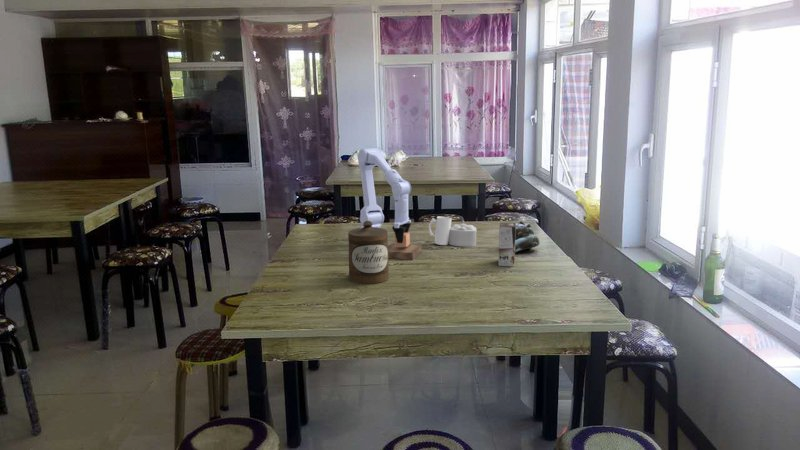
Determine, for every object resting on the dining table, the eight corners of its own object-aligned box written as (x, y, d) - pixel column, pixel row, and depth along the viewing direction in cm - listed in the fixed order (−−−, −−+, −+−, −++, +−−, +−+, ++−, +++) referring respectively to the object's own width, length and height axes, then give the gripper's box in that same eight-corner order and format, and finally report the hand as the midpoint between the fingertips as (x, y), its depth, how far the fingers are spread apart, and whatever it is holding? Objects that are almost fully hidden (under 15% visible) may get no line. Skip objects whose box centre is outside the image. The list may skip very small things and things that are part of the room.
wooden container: (353, 285, 232) (352, 226, 227) (345, 274, 246) (344, 218, 241) (393, 282, 236) (392, 223, 231) (383, 271, 250) (382, 216, 245)
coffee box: (514, 266, 255) (515, 227, 252) (498, 266, 256) (499, 226, 253) (515, 260, 264) (516, 222, 261) (499, 260, 265) (500, 221, 262)
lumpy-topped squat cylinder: (475, 246, 288) (476, 228, 286) (446, 245, 289) (447, 227, 287) (475, 241, 298) (476, 223, 296) (447, 240, 299) (448, 222, 297)
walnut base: (381, 257, 271) (380, 250, 270) (391, 249, 284) (391, 243, 283) (412, 260, 266) (412, 253, 266) (422, 252, 279) (422, 245, 279)
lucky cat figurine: (507, 254, 274) (498, 224, 277) (507, 258, 285) (498, 229, 289) (541, 244, 272) (532, 214, 275) (540, 249, 284) (530, 219, 287)
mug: (449, 243, 295) (453, 218, 293) (446, 246, 288) (450, 220, 286) (428, 240, 297) (431, 214, 295) (425, 242, 291) (428, 216, 289)
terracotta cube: (395, 246, 272) (394, 234, 271) (398, 243, 277) (398, 232, 276) (406, 246, 271) (406, 235, 270) (409, 244, 276) (409, 232, 274)
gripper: (405, 213, 263) (405, 245, 266) (415, 207, 276) (415, 238, 279) (389, 212, 265) (389, 244, 268) (400, 206, 279) (400, 237, 281)
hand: (401, 241), depth 274 cm, fingers closed on terracotta cube, 5 cm apart
